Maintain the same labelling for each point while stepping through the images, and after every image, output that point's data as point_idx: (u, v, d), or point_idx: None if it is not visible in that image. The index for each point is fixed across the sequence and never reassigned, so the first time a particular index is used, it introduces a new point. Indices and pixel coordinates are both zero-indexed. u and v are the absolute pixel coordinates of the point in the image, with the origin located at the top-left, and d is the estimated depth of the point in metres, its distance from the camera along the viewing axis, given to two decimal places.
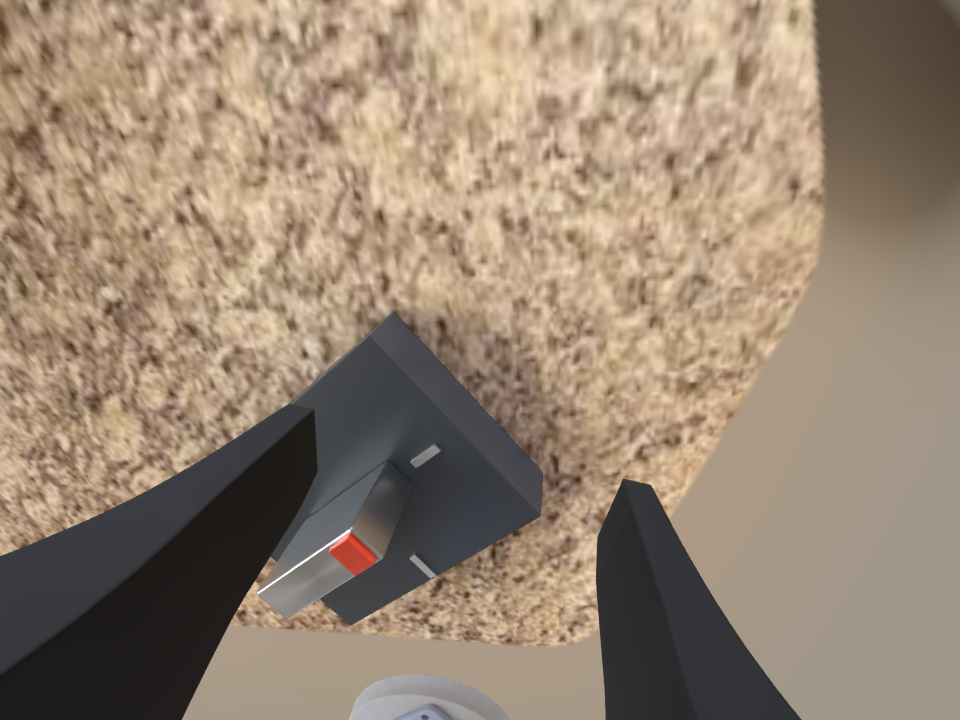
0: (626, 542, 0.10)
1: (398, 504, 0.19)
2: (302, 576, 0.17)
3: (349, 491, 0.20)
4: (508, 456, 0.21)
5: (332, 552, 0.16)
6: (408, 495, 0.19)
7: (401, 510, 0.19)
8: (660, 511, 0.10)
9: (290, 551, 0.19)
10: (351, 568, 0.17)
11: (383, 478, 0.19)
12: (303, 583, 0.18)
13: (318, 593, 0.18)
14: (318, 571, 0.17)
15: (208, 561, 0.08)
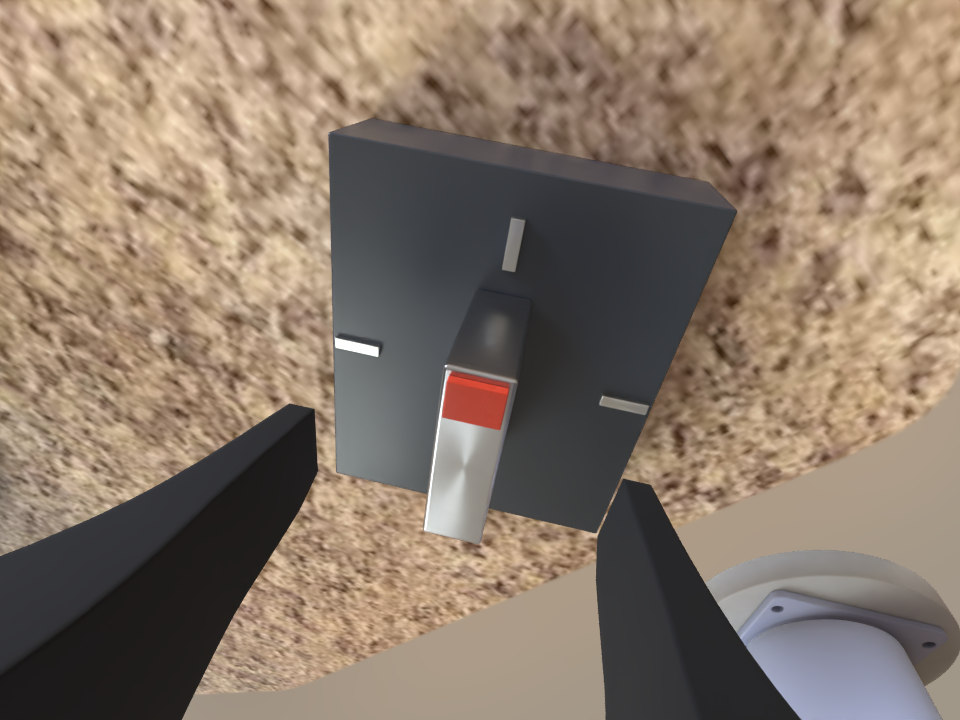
0: (626, 542, 0.10)
1: (514, 322, 0.12)
2: (448, 476, 0.12)
3: None
4: (633, 177, 0.13)
5: (447, 414, 0.11)
6: (527, 310, 0.13)
7: (522, 326, 0.12)
8: (660, 511, 0.10)
9: None
10: (486, 422, 0.10)
11: (477, 305, 0.13)
12: (457, 485, 0.12)
13: (483, 487, 0.12)
14: (459, 456, 0.11)
15: (208, 561, 0.08)
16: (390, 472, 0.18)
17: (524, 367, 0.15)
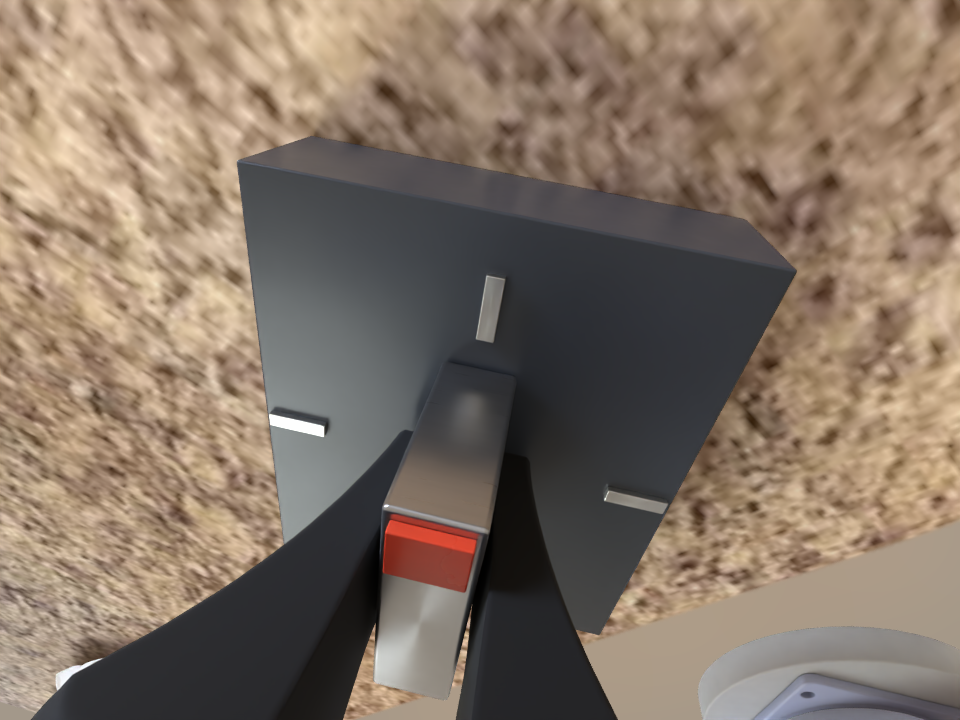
0: None
1: (491, 417, 0.09)
2: (400, 630, 0.09)
3: None
4: (649, 217, 0.10)
5: (389, 570, 0.07)
6: (509, 395, 0.10)
7: (501, 424, 0.09)
8: (523, 480, 0.10)
9: None
10: (445, 582, 0.07)
11: (441, 390, 0.09)
12: (412, 640, 0.09)
13: (448, 645, 0.09)
14: (412, 611, 0.08)
15: (362, 599, 0.08)
16: None
17: None
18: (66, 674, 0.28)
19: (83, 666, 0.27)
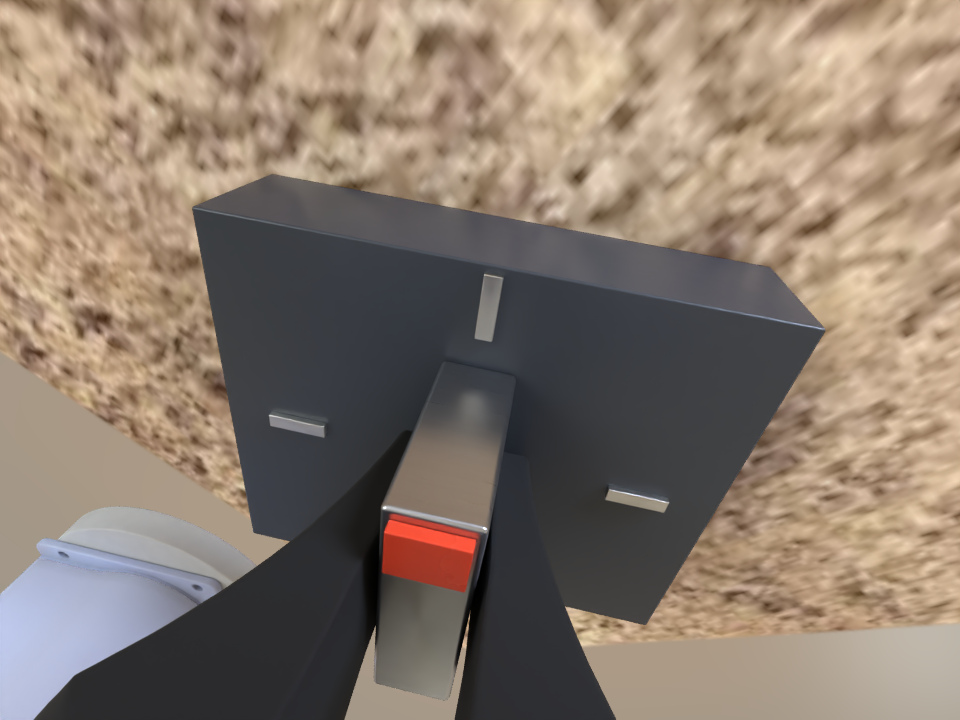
0: None
1: (490, 417, 0.09)
2: (400, 630, 0.09)
3: None
4: None
5: (388, 570, 0.07)
6: (508, 394, 0.10)
7: (501, 423, 0.09)
8: (522, 480, 0.10)
9: None
10: (445, 582, 0.07)
11: (441, 390, 0.09)
12: (412, 640, 0.09)
13: (448, 645, 0.09)
14: (412, 611, 0.08)
15: (363, 599, 0.08)
16: (240, 310, 0.11)
17: None
18: None
19: None
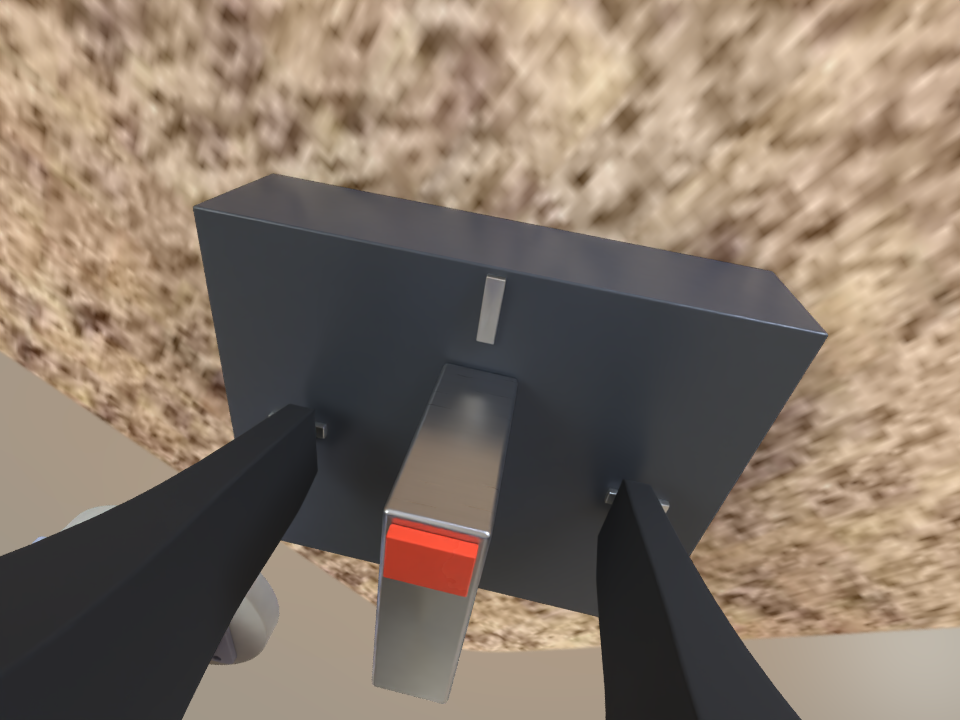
0: (626, 542, 0.10)
1: (492, 420, 0.09)
2: (399, 633, 0.09)
3: None
4: None
5: (389, 574, 0.07)
6: (510, 397, 0.10)
7: (503, 427, 0.09)
8: (660, 512, 0.10)
9: None
10: (446, 586, 0.07)
11: (443, 392, 0.09)
12: (411, 644, 0.09)
13: (447, 649, 0.09)
14: (412, 614, 0.08)
15: (208, 561, 0.08)
16: (240, 310, 0.10)
17: None
18: None
19: None
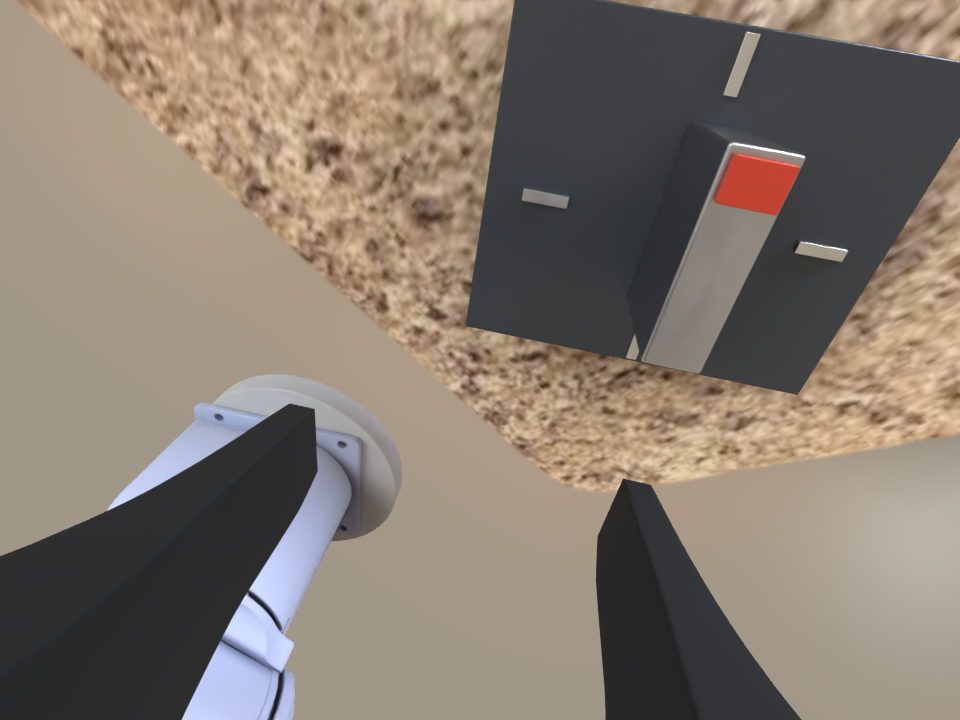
0: (626, 542, 0.10)
1: (753, 136, 0.12)
2: (692, 286, 0.12)
3: (664, 201, 0.14)
4: None
5: (723, 199, 0.10)
6: None
7: (764, 138, 0.12)
8: (660, 511, 0.10)
9: (643, 307, 0.14)
10: (765, 205, 0.10)
11: (706, 125, 0.12)
12: (698, 297, 0.12)
13: (728, 298, 0.12)
14: (712, 260, 0.11)
15: (208, 561, 0.08)
16: (527, 84, 0.14)
17: None
18: None
19: None
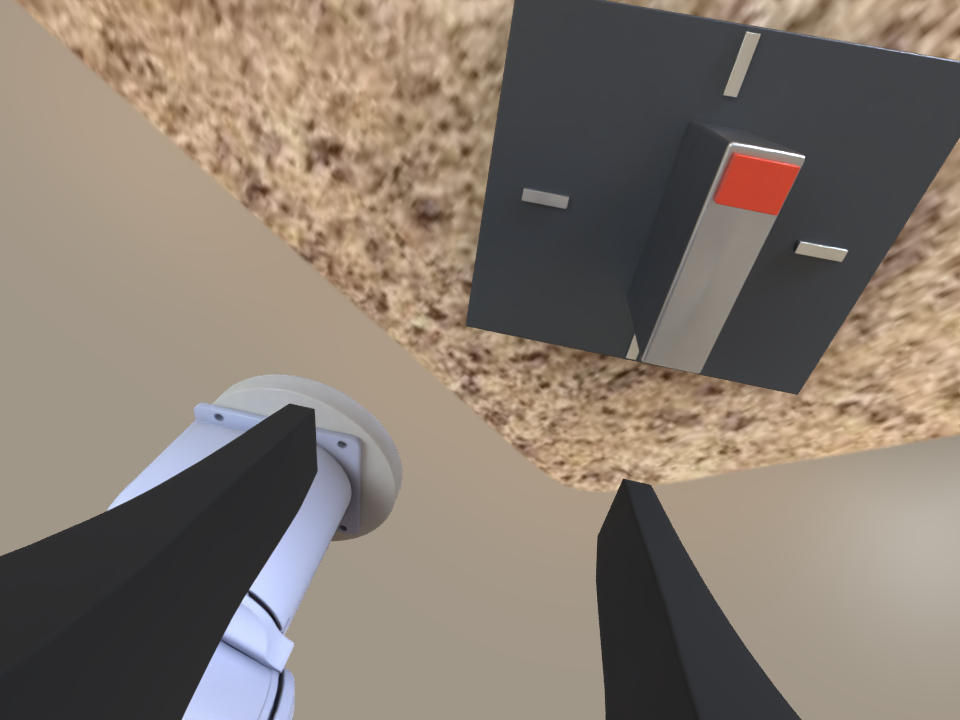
0: (626, 542, 0.10)
1: (753, 136, 0.12)
2: (692, 286, 0.12)
3: (664, 201, 0.14)
4: None
5: (723, 199, 0.10)
6: None
7: (764, 138, 0.12)
8: (660, 512, 0.10)
9: (643, 307, 0.14)
10: (765, 205, 0.10)
11: (706, 125, 0.12)
12: (698, 297, 0.12)
13: (728, 298, 0.12)
14: (712, 260, 0.11)
15: (208, 561, 0.08)
16: (527, 84, 0.14)
17: None
18: None
19: None
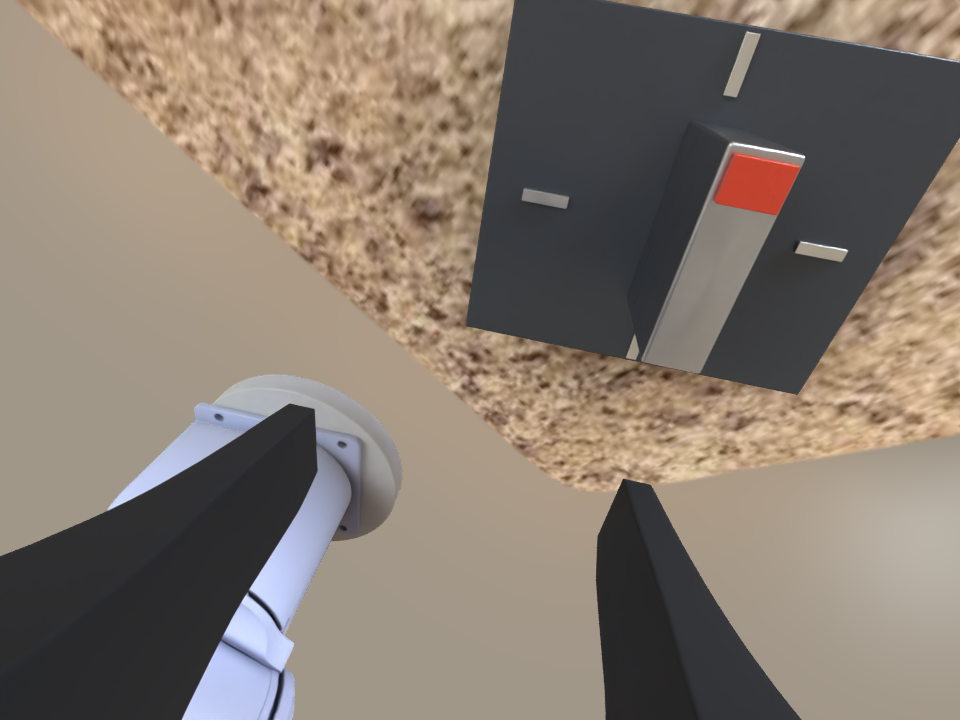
0: (626, 542, 0.10)
1: (753, 136, 0.12)
2: (692, 286, 0.12)
3: (664, 201, 0.14)
4: None
5: (723, 199, 0.10)
6: None
7: (764, 138, 0.12)
8: (660, 512, 0.10)
9: (643, 307, 0.14)
10: (765, 205, 0.10)
11: (706, 125, 0.12)
12: (698, 297, 0.12)
13: (728, 298, 0.12)
14: (712, 260, 0.11)
15: (208, 561, 0.08)
16: (527, 84, 0.14)
17: None
18: None
19: None
